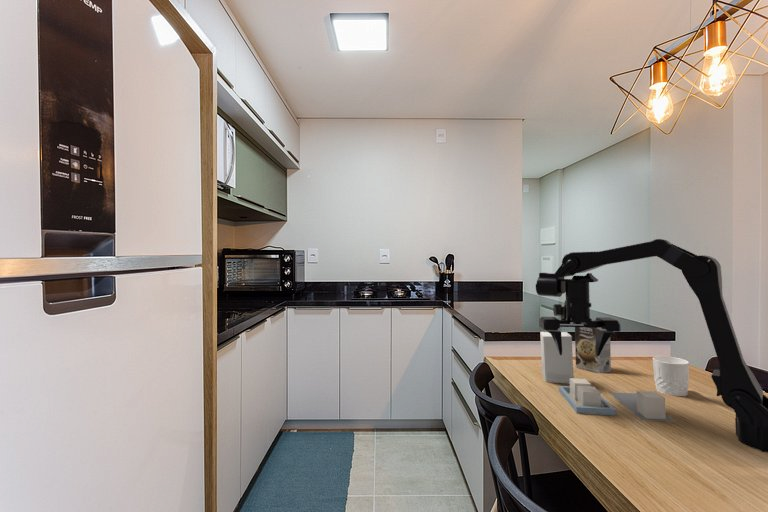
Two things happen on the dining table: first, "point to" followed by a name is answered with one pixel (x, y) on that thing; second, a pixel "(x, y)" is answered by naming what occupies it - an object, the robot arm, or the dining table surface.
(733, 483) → the dining table surface
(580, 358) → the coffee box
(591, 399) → the stone
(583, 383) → the stone
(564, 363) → the skincare box
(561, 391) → the blue bin
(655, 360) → the white cup
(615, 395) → the slate board
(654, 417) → the stone
